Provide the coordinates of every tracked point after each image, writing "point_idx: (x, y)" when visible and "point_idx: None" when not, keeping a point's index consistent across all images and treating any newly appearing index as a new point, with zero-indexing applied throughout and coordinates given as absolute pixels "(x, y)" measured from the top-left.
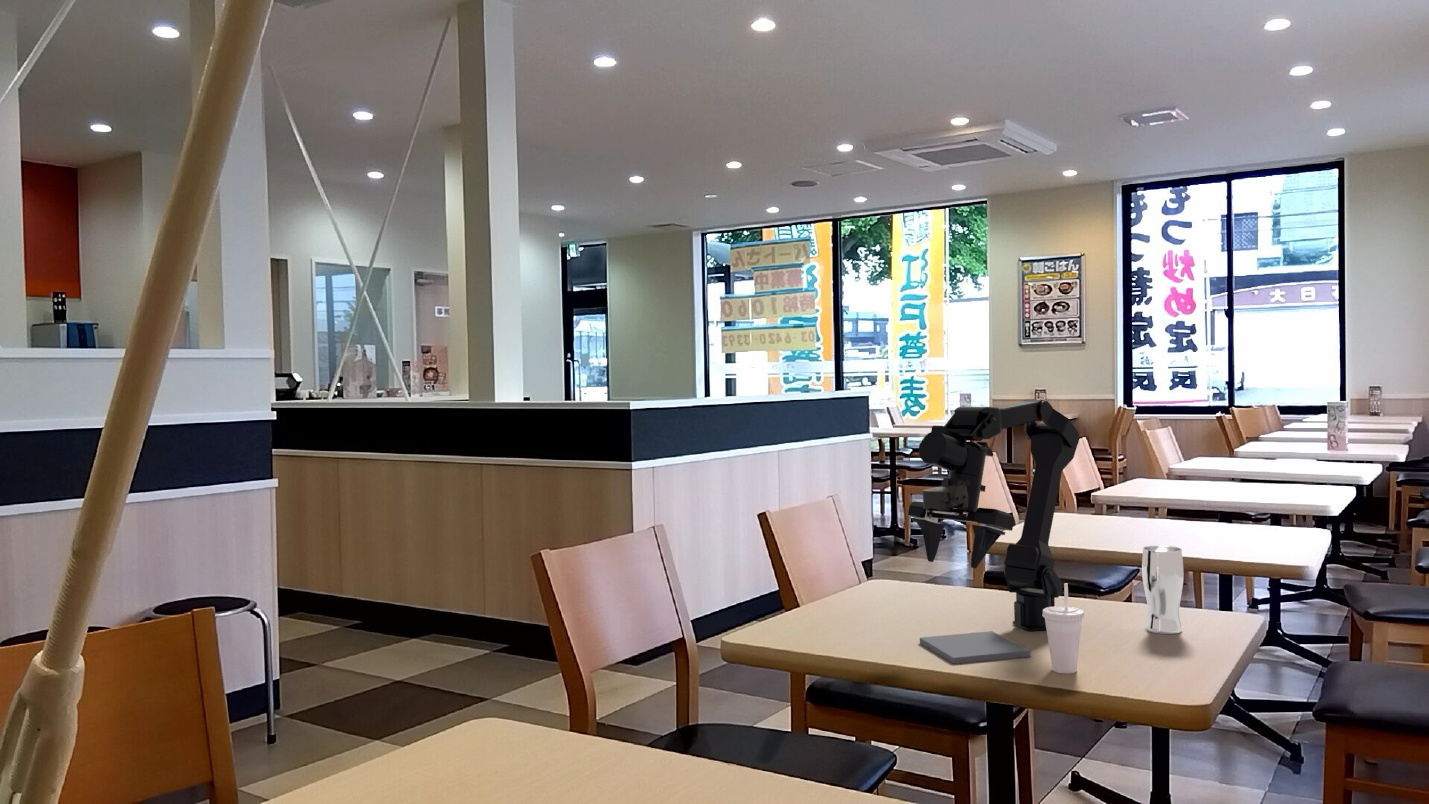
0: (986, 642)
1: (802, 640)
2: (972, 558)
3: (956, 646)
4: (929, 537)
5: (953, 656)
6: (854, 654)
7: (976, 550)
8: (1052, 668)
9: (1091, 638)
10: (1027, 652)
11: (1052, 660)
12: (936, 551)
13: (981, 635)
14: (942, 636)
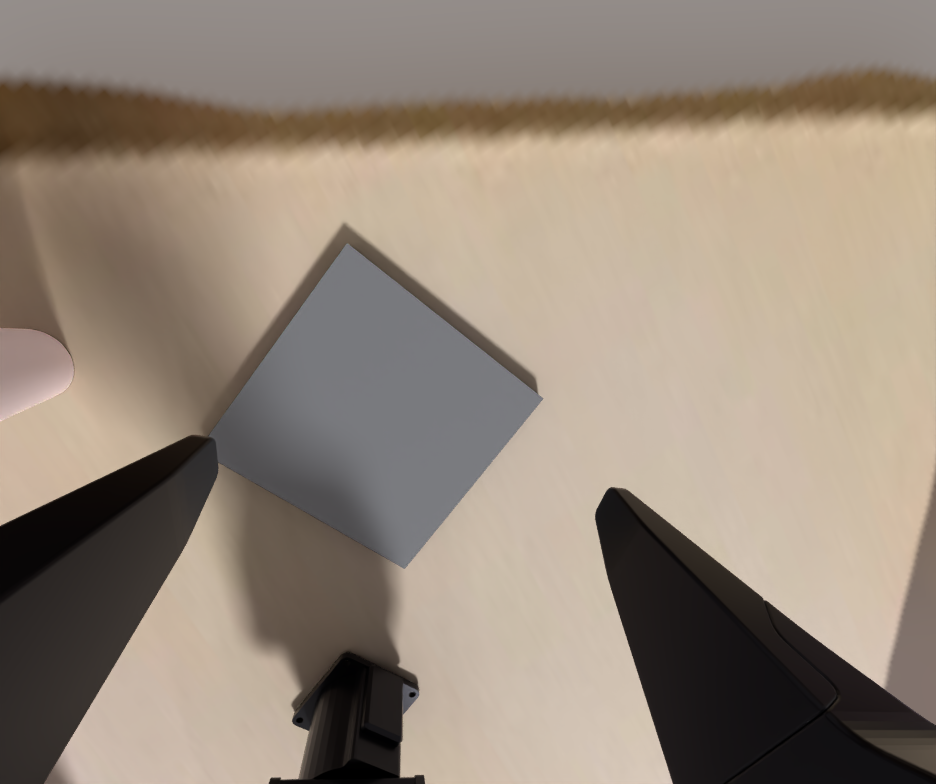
0: (354, 457)
1: (829, 241)
2: (154, 473)
3: (405, 368)
4: (751, 647)
5: (355, 258)
6: (646, 181)
7: (24, 525)
8: (57, 344)
9: (176, 687)
10: None
11: (23, 337)
12: (618, 601)
13: (406, 515)
14: (494, 445)
